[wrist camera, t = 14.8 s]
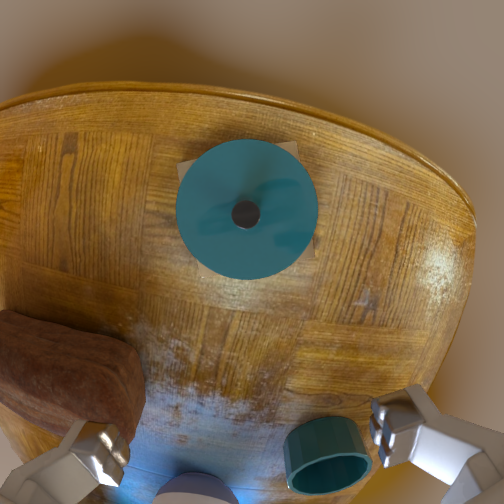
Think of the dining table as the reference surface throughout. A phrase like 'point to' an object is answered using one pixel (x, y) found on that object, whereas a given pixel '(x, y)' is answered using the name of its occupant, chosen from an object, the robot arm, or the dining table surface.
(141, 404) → the bread
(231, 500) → the bowl
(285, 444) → the pot
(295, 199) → the pot lid
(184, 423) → the dining table surface
